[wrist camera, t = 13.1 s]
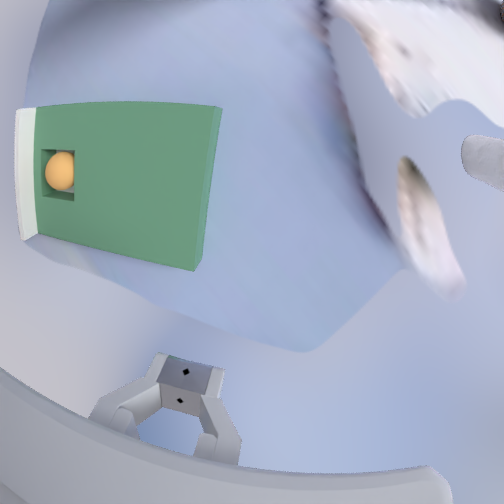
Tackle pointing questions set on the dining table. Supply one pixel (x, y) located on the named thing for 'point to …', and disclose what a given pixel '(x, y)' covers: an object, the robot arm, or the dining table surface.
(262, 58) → the dining table surface
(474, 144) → the roll
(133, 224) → the green
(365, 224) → the dining table surface
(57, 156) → the ball
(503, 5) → the vase
